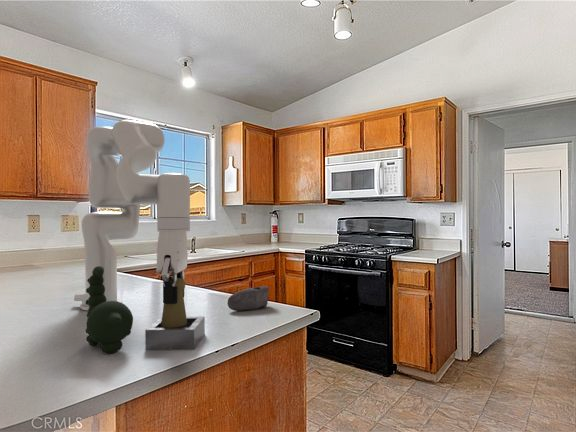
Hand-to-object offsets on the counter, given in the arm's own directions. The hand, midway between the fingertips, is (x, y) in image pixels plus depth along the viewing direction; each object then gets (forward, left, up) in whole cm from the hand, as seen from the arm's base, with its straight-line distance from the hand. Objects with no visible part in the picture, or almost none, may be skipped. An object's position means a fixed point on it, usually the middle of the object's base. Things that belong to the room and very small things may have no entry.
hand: (174, 299), depth 92 cm
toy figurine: (-16, -2, -10) cm, 19 cm away
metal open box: (+1, 0, -10) cm, 10 cm away
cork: (0, 0, -6) cm, 6 cm away
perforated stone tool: (+15, +31, -10) cm, 36 cm away
